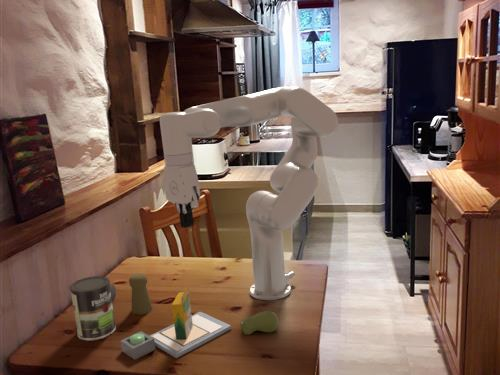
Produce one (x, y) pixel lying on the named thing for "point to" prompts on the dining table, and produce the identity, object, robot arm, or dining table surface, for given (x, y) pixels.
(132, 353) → the button housing
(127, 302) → the dining table surface
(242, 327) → the pear
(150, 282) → the dining table surface
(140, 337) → the button
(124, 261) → the dining table surface
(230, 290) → the dining table surface
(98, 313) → the coffee can
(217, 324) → the grey white rectangular board
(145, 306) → the cork
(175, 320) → the crayon box
